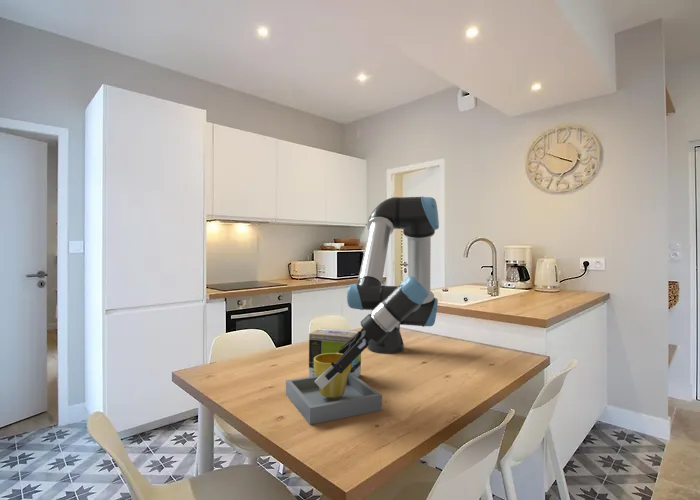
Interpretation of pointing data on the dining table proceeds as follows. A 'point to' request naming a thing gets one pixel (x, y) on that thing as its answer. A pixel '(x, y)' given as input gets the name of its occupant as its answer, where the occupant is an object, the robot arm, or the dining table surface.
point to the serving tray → (332, 399)
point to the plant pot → (337, 383)
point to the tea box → (331, 346)
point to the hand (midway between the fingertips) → (321, 377)
